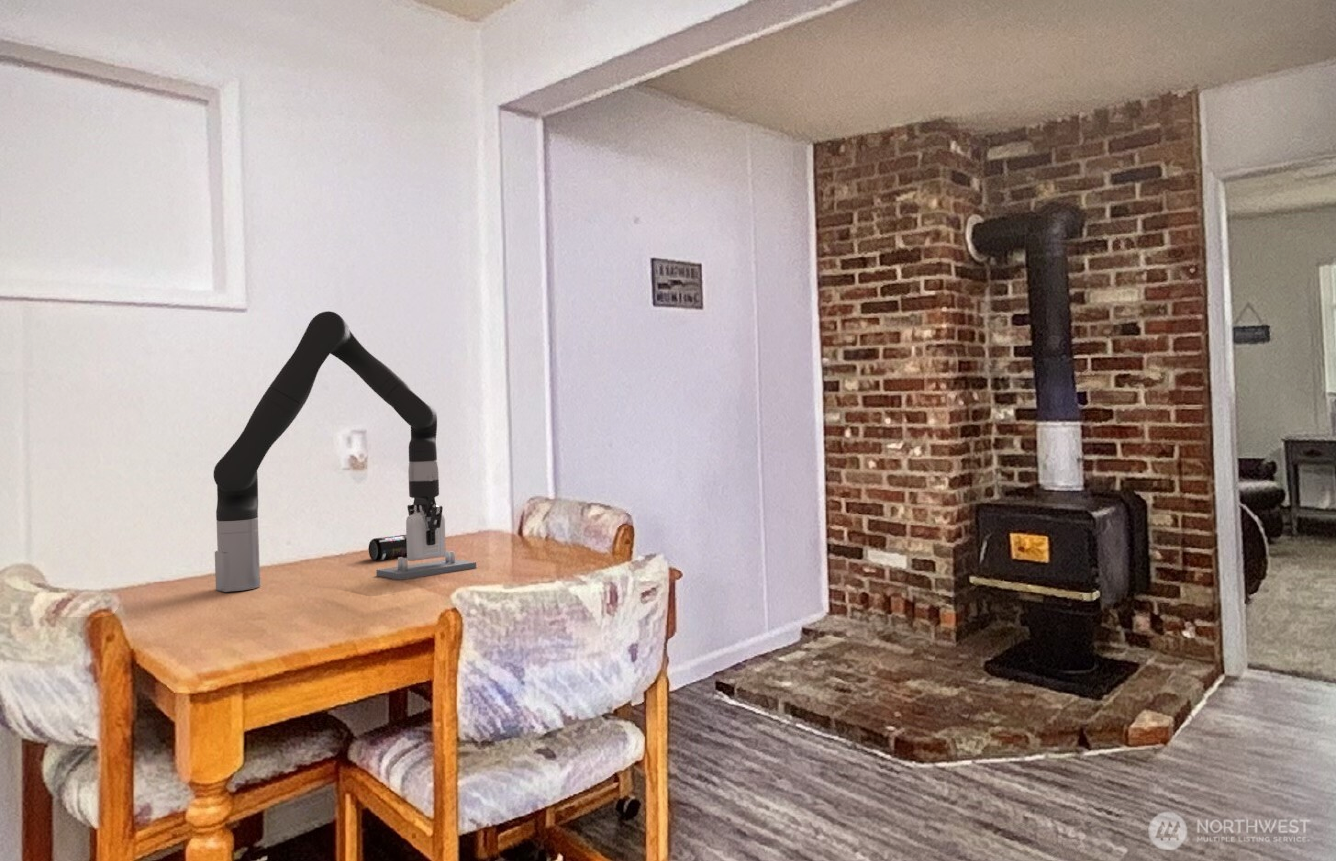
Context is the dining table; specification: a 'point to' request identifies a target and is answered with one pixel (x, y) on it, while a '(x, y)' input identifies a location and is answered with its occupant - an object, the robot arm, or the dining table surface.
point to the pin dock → (425, 567)
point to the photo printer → (423, 539)
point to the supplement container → (388, 547)
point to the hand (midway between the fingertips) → (426, 544)
